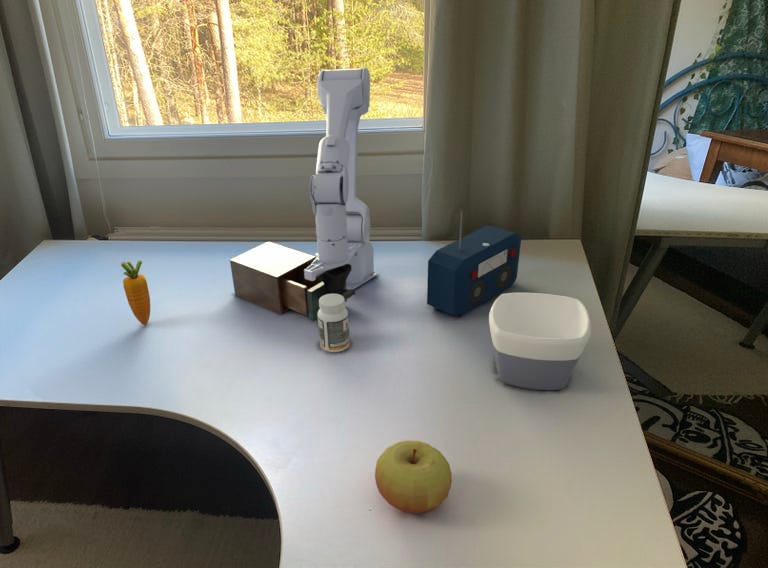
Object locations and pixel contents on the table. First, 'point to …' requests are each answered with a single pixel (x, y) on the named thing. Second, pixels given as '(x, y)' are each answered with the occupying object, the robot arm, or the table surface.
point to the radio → (472, 269)
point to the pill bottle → (333, 323)
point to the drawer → (305, 293)
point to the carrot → (137, 292)
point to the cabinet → (266, 273)
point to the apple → (413, 476)
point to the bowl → (538, 338)
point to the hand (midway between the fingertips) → (335, 299)
